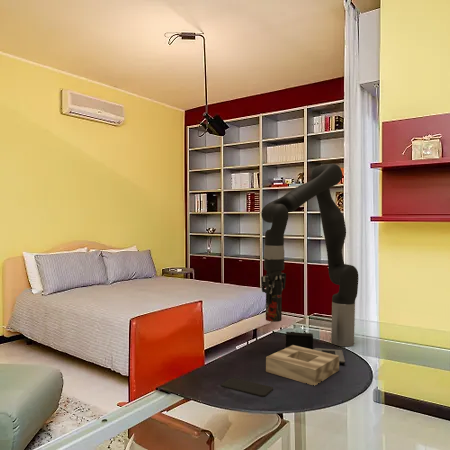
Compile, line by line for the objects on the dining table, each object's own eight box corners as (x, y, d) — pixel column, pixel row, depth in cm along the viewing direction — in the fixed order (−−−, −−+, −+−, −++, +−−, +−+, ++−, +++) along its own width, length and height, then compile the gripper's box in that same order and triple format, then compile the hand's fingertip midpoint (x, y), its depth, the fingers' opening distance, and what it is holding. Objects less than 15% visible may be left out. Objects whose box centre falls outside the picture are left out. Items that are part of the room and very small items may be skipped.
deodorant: (284, 319, 156) (285, 279, 155) (275, 322, 151) (275, 281, 151) (271, 317, 160) (272, 278, 159) (262, 319, 155) (262, 279, 155)
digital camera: (312, 350, 164) (312, 332, 164) (312, 354, 159) (313, 336, 159) (285, 348, 166) (286, 330, 166) (285, 352, 161) (286, 334, 161)
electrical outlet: (344, 367, 147) (345, 360, 147) (314, 364, 149) (314, 358, 149) (341, 355, 160) (341, 349, 160) (313, 353, 162) (313, 347, 162)
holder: (292, 358, 153) (293, 345, 153) (338, 370, 142) (339, 355, 142) (265, 371, 139) (266, 356, 139) (314, 386, 128) (315, 369, 128)
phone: (231, 377, 133) (274, 387, 125) (231, 379, 133) (274, 389, 125) (219, 385, 126) (264, 395, 119) (219, 387, 126) (264, 398, 119)
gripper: (275, 255, 163) (275, 298, 163) (254, 258, 152) (254, 304, 152) (292, 256, 158) (292, 300, 158) (272, 259, 147) (271, 306, 147)
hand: (273, 302), depth 155 cm, fingers closed on deodorant, 6 cm apart
